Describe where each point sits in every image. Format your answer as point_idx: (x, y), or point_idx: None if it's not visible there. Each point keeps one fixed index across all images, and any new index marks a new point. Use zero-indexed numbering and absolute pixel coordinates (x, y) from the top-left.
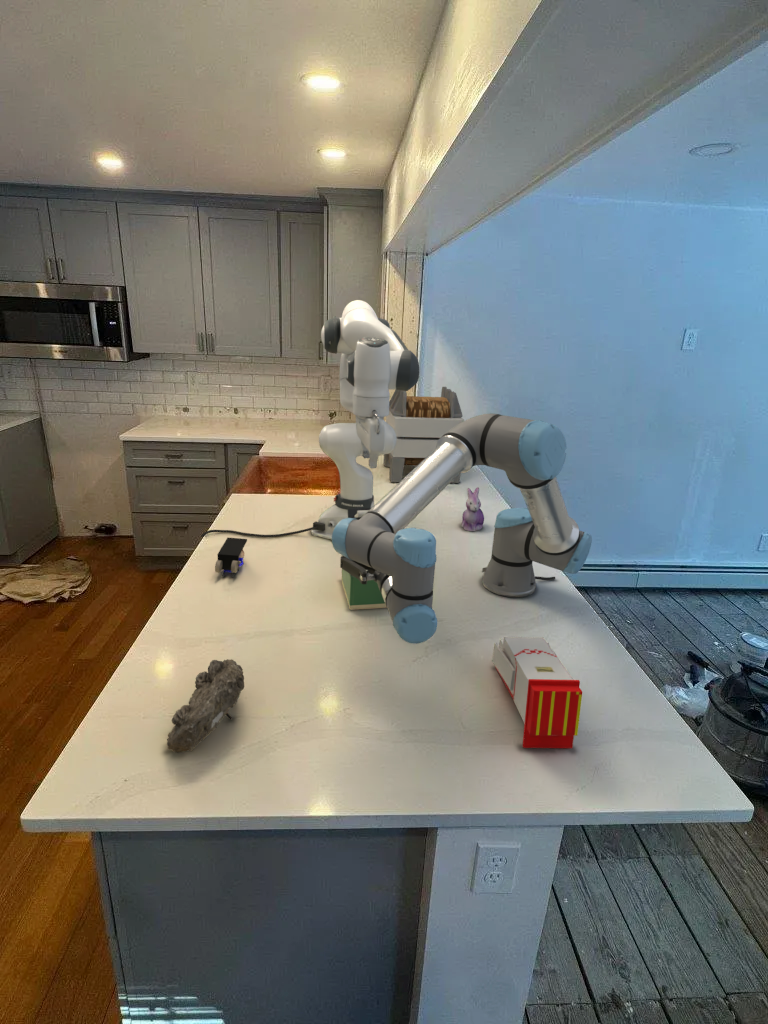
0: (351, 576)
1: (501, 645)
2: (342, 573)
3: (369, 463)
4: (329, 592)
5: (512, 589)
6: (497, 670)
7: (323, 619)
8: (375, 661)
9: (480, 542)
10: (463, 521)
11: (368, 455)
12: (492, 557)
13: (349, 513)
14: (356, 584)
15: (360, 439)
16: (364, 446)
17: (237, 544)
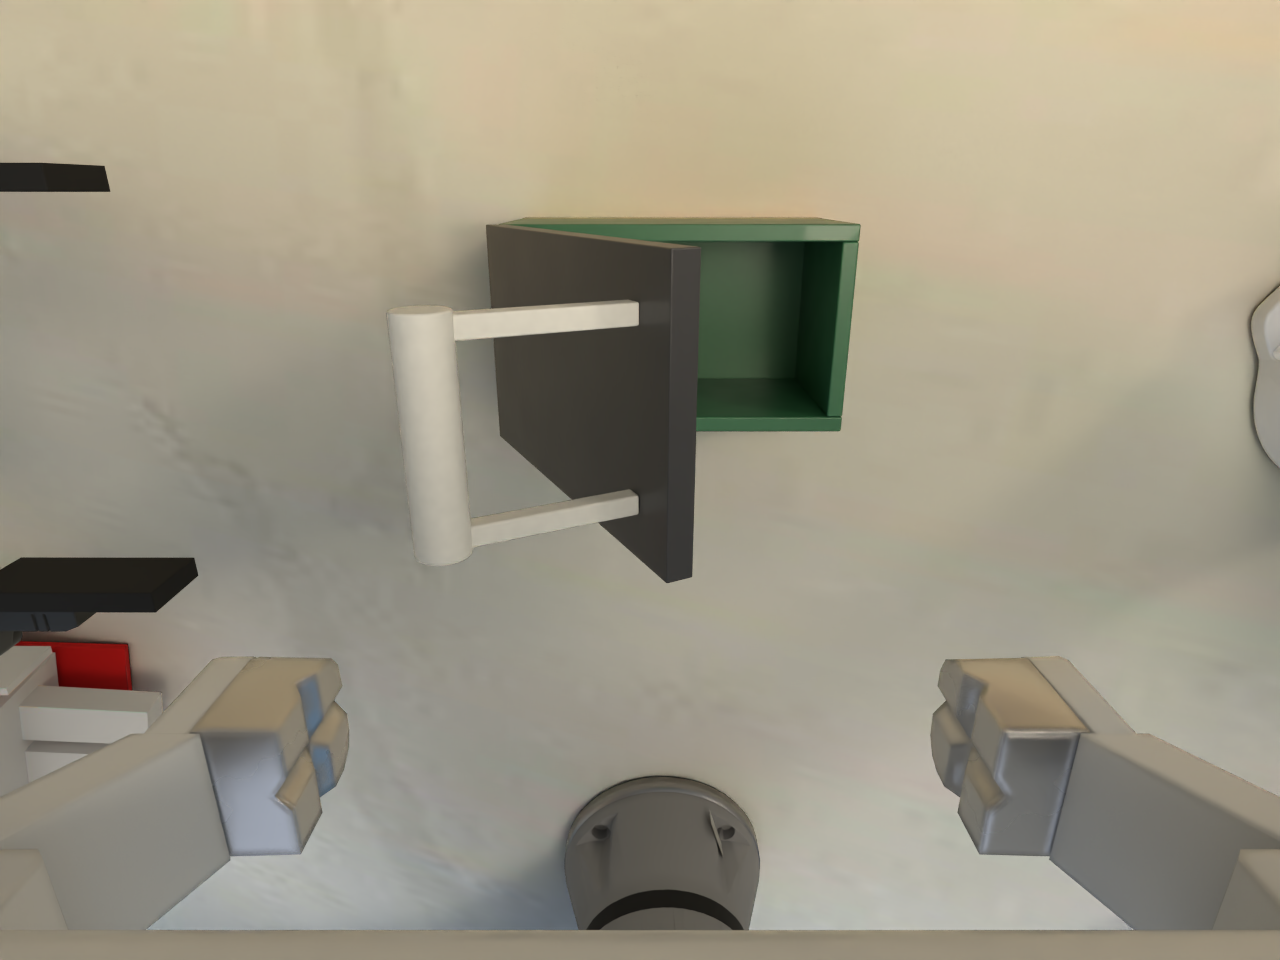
0: None
1: (118, 702)
2: (798, 219)
3: (194, 695)
4: (705, 138)
5: (569, 856)
6: (97, 644)
7: (448, 77)
8: (132, 262)
9: (1053, 881)
10: None
11: (952, 767)
12: (674, 894)
13: (649, 258)
14: None
15: (1226, 948)
16: (1183, 842)
17: None
